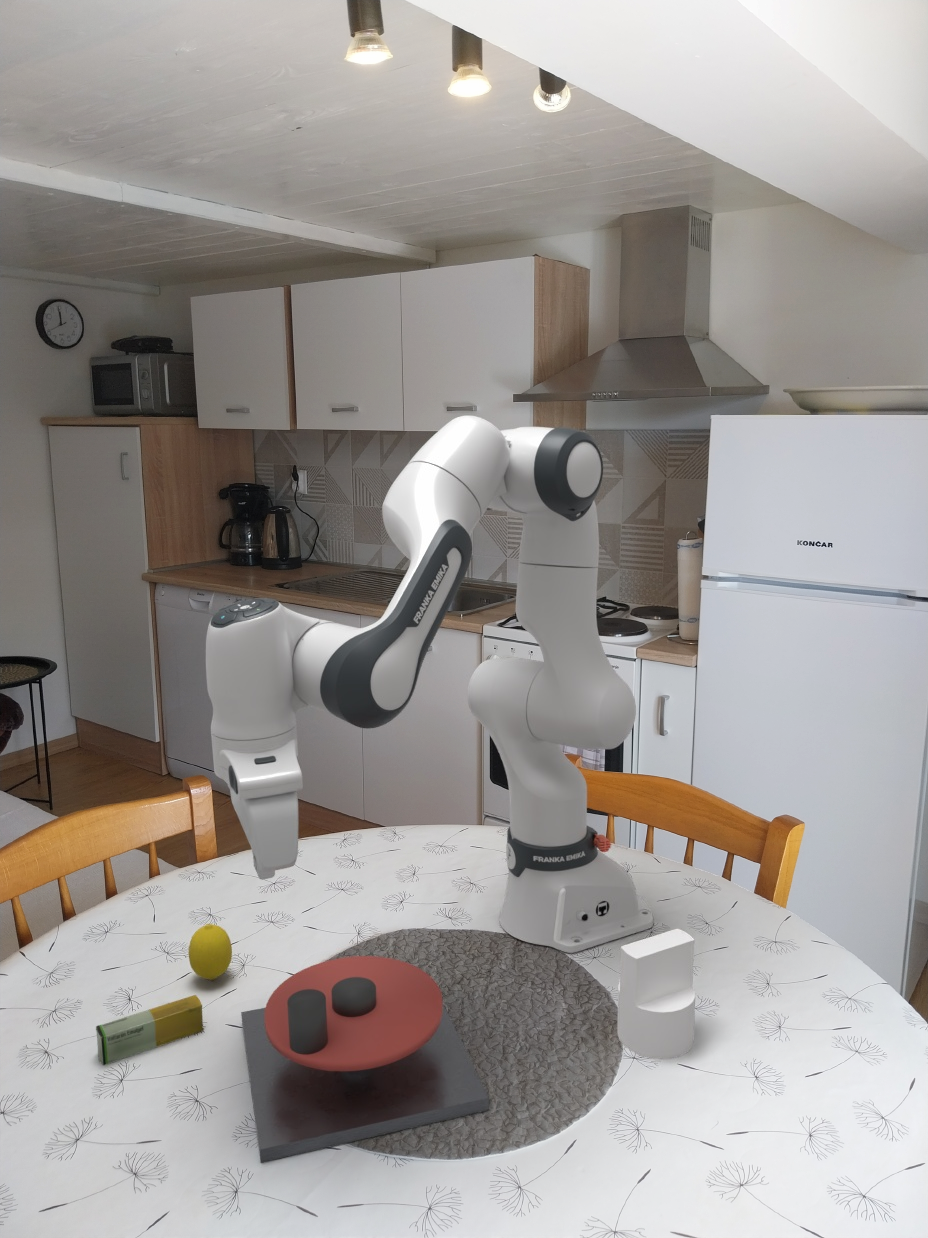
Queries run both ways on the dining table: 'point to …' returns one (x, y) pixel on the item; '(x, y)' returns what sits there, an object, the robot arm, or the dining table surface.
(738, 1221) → the dining table surface
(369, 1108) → the valve stand
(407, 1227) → the dining table surface
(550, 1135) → the dining table surface
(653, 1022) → the base with upright slab
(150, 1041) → the medication box
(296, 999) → the handwheel
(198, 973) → the lemon
